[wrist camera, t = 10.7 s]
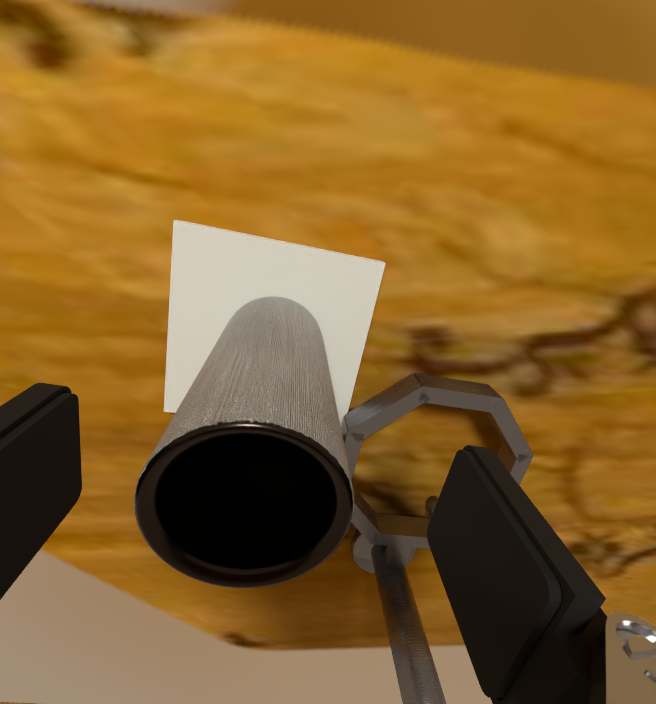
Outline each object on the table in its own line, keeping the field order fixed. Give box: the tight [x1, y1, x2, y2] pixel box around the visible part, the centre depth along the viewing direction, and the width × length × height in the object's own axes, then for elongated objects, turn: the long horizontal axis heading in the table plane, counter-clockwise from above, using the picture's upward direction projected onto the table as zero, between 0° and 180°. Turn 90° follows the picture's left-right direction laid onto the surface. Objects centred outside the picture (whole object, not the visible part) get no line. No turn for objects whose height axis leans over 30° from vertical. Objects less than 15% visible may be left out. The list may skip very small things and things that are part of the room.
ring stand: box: [341, 373, 533, 704], centre depth 16 cm, size 10×14×11 cm
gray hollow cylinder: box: [134, 296, 354, 588], centre depth 12 cm, size 4×4×10 cm
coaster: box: [164, 220, 386, 426], centre depth 17 cm, size 9×9×1 cm
